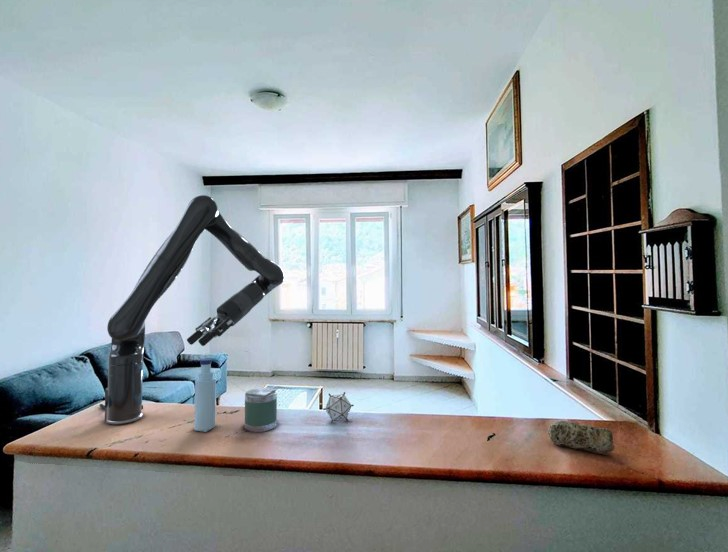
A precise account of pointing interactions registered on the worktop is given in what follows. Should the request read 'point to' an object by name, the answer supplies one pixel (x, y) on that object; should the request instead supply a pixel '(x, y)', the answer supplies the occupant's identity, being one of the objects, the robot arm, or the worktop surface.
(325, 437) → the worktop surface
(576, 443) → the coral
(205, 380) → the bottle
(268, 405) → the tin
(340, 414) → the game die
